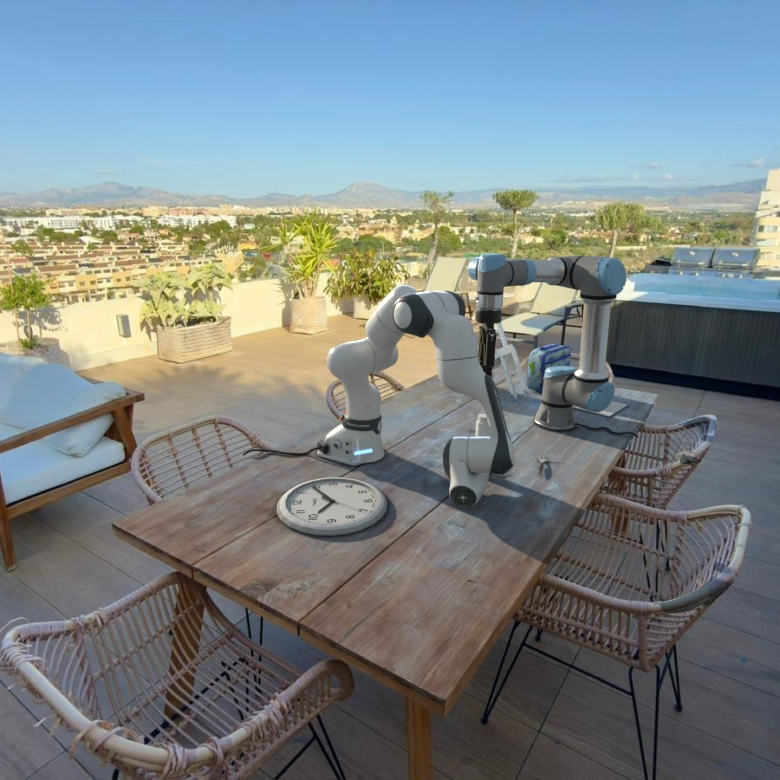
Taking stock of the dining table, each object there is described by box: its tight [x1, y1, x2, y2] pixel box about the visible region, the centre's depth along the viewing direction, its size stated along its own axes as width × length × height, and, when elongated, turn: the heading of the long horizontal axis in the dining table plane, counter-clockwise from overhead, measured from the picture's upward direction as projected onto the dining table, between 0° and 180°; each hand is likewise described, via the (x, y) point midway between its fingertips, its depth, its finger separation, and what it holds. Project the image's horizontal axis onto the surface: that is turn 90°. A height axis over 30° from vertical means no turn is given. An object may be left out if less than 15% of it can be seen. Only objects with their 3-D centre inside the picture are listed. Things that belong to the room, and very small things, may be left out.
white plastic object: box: [477, 321, 531, 400], centre depth 245 cm, size 37×45×31 cm
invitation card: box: [573, 400, 629, 418], centre depth 226 cm, size 21×1×15 cm
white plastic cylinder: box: [475, 413, 491, 436], centre depth 160 cm, size 5×5×19 cm
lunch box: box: [526, 343, 572, 394], centre depth 248 cm, size 26×11×21 cm, turn 135°
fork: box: [538, 451, 548, 475], centre depth 168 cm, size 3×16×2 cm, turn 160°
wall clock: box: [276, 476, 388, 537], centre depth 142 cm, size 30×2×30 cm
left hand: (482, 453), depth 162 cm, fingers closed on white plastic cylinder, 5 cm apart
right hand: (484, 384), depth 159 cm, fingers closed on lid, 5 cm apart
